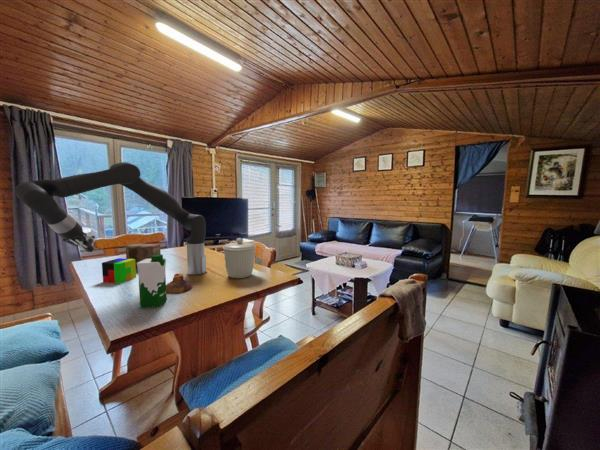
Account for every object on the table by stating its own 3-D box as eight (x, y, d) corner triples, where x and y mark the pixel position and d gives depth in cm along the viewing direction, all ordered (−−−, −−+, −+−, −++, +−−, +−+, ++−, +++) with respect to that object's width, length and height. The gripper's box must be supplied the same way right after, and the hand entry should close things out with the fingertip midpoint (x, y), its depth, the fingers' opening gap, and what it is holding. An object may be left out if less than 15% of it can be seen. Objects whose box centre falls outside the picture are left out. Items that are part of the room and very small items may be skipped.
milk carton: (160, 308, 101) (158, 257, 99) (136, 308, 100) (133, 258, 98) (169, 299, 110) (167, 253, 108) (147, 300, 109) (144, 253, 107)
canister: (245, 282, 133) (245, 241, 130) (215, 278, 138) (215, 239, 136) (262, 273, 150) (262, 236, 147) (234, 270, 155) (234, 235, 153)
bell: (186, 294, 117) (185, 278, 116) (158, 294, 116) (158, 278, 116) (195, 285, 128) (195, 271, 127) (171, 285, 128) (170, 270, 127)
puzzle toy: (119, 276, 140) (118, 258, 139) (136, 277, 139) (135, 259, 138) (103, 282, 131) (101, 262, 130) (120, 283, 129) (119, 263, 128)
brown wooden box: (161, 266, 160) (160, 244, 158) (154, 270, 152) (153, 246, 151) (135, 266, 160) (133, 243, 158) (126, 270, 152) (125, 246, 151)
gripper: (86, 218, 106) (110, 243, 119) (54, 217, 106) (81, 243, 119) (75, 233, 101) (101, 257, 114) (42, 232, 101) (71, 257, 114)
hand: (91, 250), depth 116 cm, fingers closed
